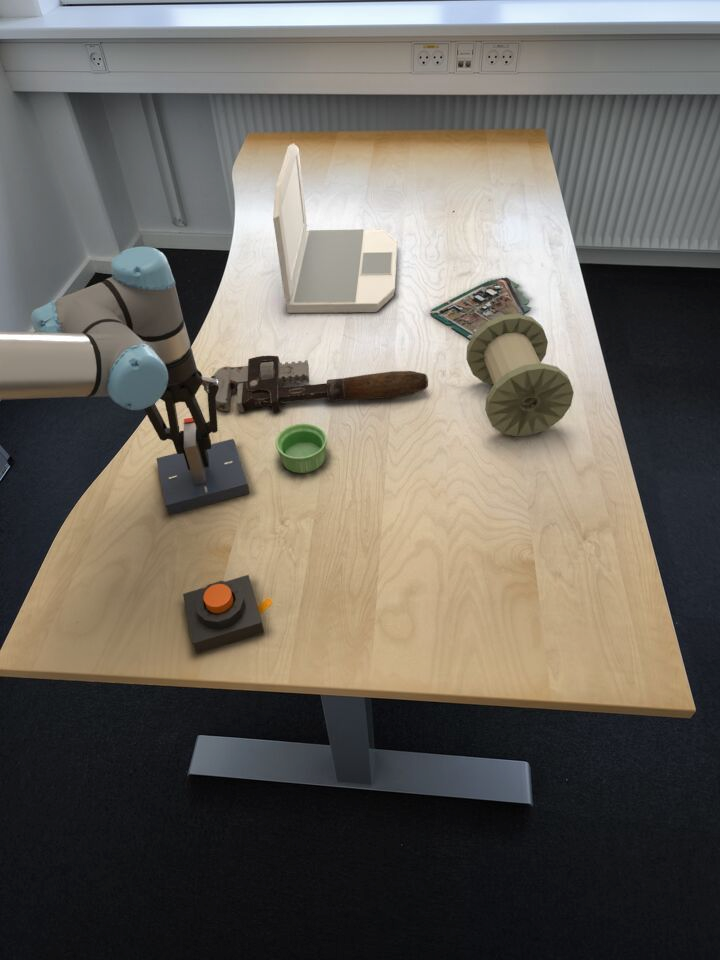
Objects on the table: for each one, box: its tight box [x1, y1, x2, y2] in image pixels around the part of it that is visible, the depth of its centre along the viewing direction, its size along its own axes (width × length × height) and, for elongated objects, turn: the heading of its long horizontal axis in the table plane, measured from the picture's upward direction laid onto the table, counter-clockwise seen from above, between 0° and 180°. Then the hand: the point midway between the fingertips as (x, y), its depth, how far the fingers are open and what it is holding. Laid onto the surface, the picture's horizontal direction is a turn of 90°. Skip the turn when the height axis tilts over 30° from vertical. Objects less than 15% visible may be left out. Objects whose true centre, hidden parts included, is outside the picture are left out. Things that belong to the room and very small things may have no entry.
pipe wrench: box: [212, 355, 429, 413], centre depth 143 cm, size 43×13×5 cm, turn 93°
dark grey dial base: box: [156, 438, 251, 516], centre depth 128 cm, size 14×12×3 cm
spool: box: [465, 313, 575, 438], centre depth 133 cm, size 16×15×15 cm
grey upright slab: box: [183, 417, 207, 485], centre depth 124 cm, size 7×2×9 cm, turn 10°
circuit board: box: [429, 276, 532, 340], centre depth 161 cm, size 23×15×1 cm, turn 128°
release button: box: [204, 584, 233, 614], centre depth 105 cm, size 4×4×2 cm
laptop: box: [272, 143, 398, 314], centre depth 165 cm, size 33×24×26 cm
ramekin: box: [275, 423, 328, 474], centre depth 130 cm, size 9×9×4 cm
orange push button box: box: [182, 574, 265, 654], centre depth 107 cm, size 10×9×4 cm
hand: (198, 462), depth 125 cm, fingers closed on grey upright slab, 2 cm apart
